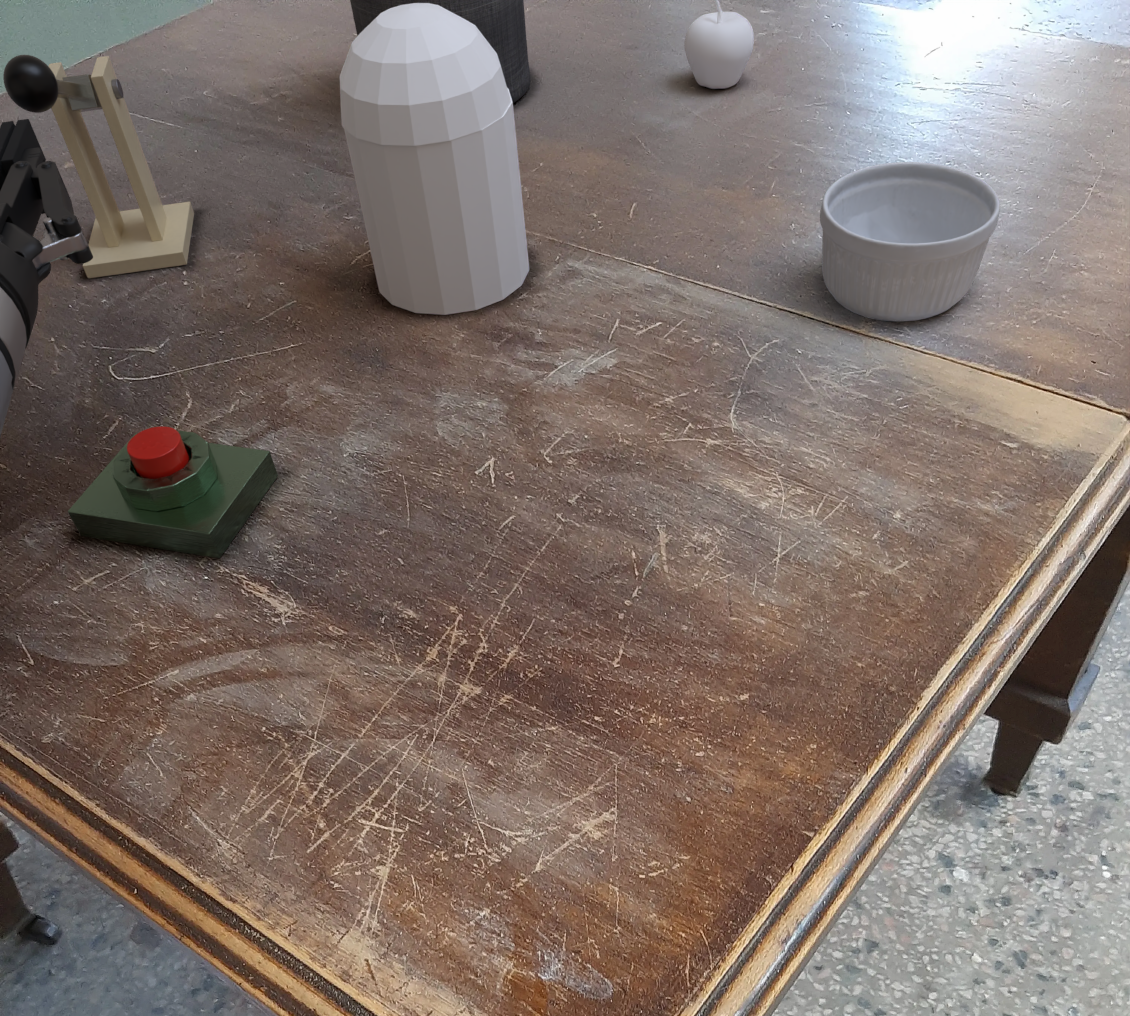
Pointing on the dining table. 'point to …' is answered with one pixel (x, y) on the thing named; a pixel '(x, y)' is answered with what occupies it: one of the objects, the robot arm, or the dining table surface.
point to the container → (434, 161)
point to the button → (157, 452)
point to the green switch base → (177, 499)
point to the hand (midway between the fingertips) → (24, 141)
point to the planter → (496, 15)
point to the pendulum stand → (154, 227)
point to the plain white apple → (719, 48)
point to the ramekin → (905, 238)
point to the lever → (46, 86)
